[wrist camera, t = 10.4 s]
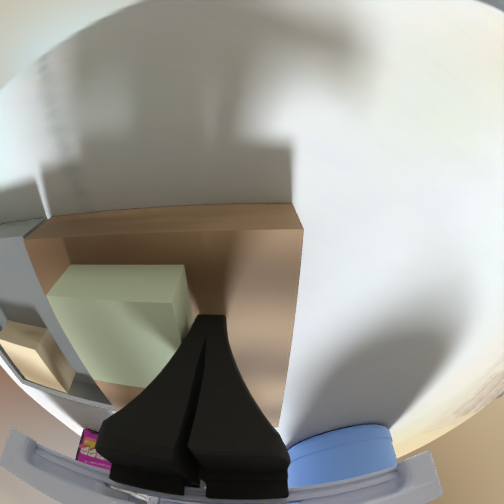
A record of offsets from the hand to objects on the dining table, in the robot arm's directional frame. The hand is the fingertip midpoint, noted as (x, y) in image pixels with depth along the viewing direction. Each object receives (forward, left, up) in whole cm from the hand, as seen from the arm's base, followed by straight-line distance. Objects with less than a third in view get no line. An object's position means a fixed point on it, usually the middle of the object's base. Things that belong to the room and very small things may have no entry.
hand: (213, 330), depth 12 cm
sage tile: (0, +4, -1) cm, 4 cm away
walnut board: (-5, +3, -4) cm, 7 cm away
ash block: (-8, +18, -1) cm, 20 cm away
